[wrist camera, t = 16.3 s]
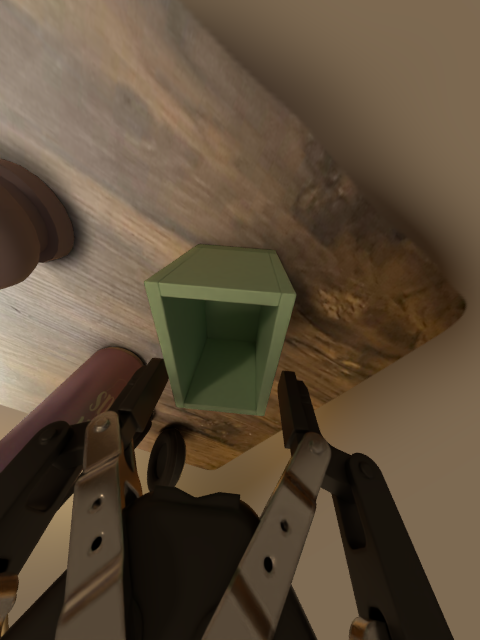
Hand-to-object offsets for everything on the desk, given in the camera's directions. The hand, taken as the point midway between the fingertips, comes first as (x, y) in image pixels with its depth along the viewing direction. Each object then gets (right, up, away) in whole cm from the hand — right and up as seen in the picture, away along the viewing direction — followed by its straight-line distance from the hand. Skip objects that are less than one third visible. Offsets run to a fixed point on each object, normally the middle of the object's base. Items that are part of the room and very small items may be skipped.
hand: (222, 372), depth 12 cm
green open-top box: (0, 0, +3) cm, 3 cm away
